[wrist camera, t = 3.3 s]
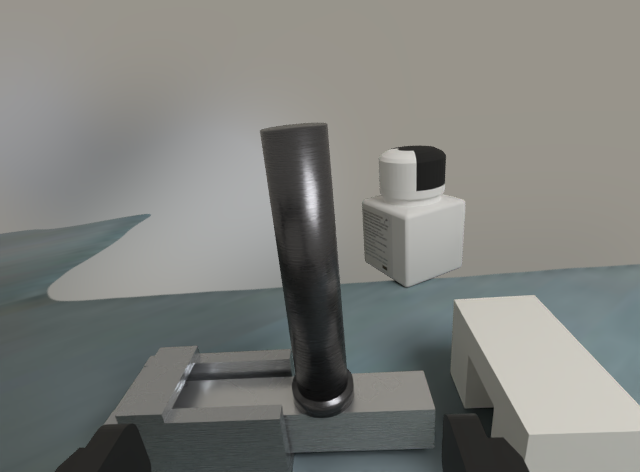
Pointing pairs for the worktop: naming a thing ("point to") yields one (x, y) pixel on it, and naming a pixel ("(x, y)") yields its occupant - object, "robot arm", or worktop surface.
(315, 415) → the tube
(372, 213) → the container
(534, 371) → the socket block
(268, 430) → the sleeve
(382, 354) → the worktop surface
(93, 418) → the worktop surface
